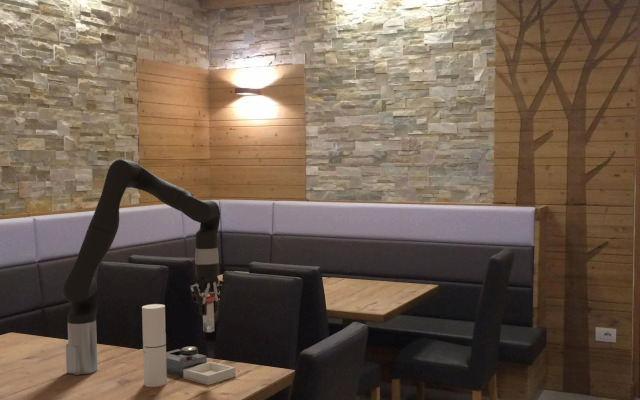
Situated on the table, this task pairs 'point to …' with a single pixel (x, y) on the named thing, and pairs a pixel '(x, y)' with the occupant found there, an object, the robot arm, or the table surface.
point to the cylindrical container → (154, 345)
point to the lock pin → (209, 315)
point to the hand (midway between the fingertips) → (208, 313)
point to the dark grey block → (183, 360)
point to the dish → (209, 373)
